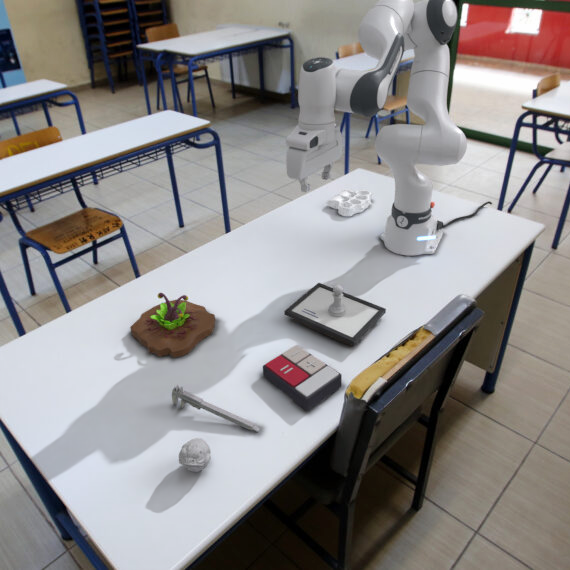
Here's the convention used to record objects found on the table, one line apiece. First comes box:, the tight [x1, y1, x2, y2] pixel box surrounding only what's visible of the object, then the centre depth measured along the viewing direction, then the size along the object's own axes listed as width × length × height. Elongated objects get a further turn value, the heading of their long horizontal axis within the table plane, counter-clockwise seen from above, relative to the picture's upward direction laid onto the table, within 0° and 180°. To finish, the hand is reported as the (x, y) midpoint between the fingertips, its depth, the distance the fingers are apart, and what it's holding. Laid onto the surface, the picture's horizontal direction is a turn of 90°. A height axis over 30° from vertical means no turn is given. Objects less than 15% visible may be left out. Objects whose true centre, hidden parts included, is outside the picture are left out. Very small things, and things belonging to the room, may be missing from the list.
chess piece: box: [328, 285, 346, 317], centre depth 129 cm, size 5×5×8 cm
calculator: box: [262, 344, 343, 412], centre depth 114 cm, size 11×4×15 cm
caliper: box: [171, 383, 261, 433], centre depth 105 cm, size 20×1×6 cm, turn 68°
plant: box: [129, 292, 216, 358], centre depth 128 cm, size 20×20×11 cm
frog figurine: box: [178, 437, 212, 473], centre depth 95 cm, size 6×7×7 cm
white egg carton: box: [326, 189, 373, 217], centre depth 189 cm, size 3×18×15 cm
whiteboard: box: [283, 282, 387, 347], centre depth 132 cm, size 16×21×3 cm
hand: (315, 184), depth 130 cm, fingers open, 8 cm apart
